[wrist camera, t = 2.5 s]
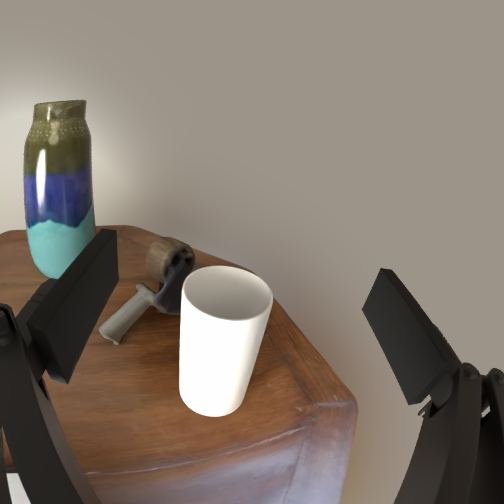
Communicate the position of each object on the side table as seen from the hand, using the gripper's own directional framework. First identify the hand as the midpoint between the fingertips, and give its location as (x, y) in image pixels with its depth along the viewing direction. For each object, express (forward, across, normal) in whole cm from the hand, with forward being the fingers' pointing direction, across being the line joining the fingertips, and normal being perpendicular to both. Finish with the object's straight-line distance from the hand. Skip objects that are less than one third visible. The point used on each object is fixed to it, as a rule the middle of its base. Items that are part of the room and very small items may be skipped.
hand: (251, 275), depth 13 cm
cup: (+10, 0, -24) cm, 26 cm away
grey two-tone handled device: (+22, -10, -24) cm, 34 cm away
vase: (+30, -30, -24) cm, 49 cm away
